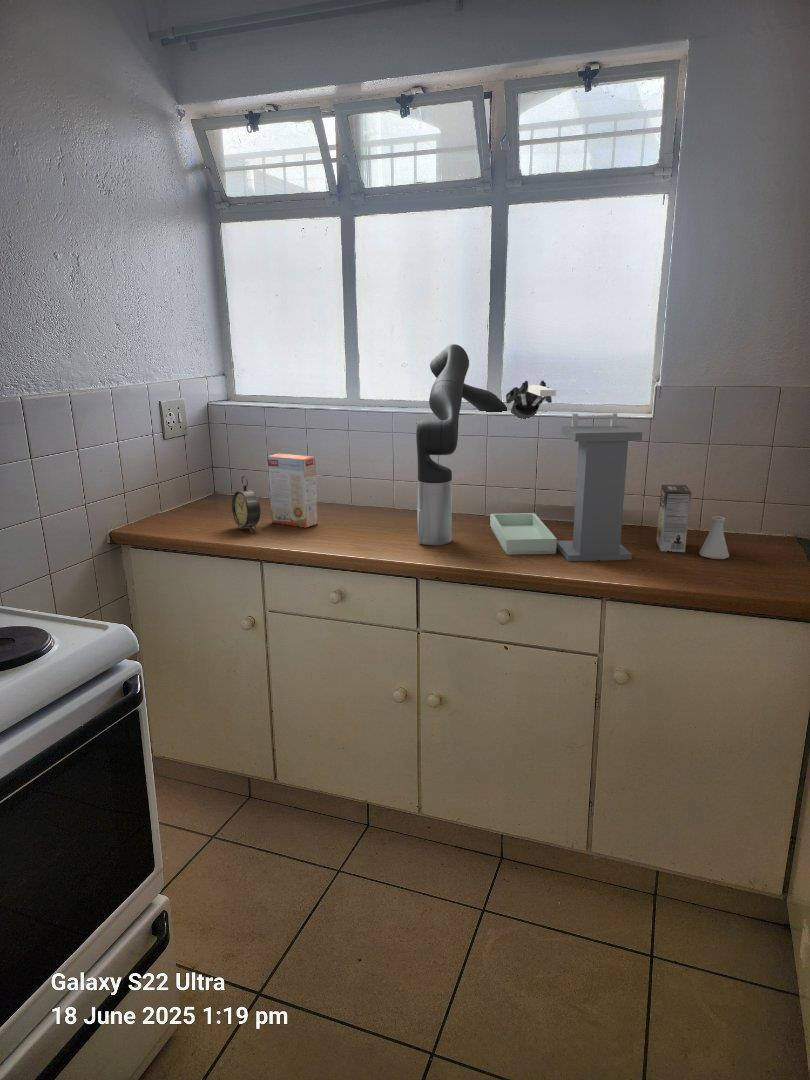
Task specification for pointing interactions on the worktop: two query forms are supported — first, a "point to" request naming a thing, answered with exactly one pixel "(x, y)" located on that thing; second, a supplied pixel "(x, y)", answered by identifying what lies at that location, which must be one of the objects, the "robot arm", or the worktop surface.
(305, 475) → the cracker box
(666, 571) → the worktop surface
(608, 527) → the grey pedestal stand
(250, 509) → the alarm clock
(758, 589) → the worktop surface
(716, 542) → the flask
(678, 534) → the coffee box
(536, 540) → the tray
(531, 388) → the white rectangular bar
